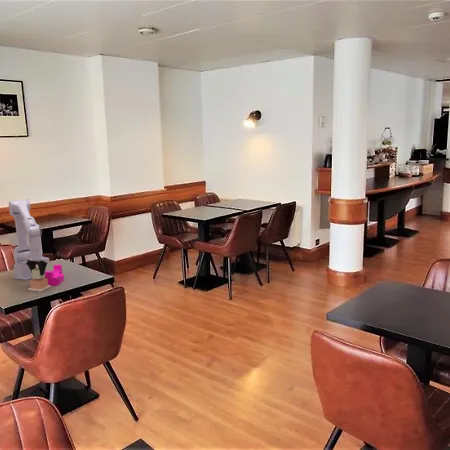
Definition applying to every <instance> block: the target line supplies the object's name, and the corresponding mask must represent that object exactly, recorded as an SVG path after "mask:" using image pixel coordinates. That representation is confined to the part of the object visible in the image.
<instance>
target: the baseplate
mask: <svg viewBox="0 0 450 450" xmlns="http://www.w3.org/2000/svg"><path fill="white" fill-rule="evenodd" d="M49 288H52V286H51V285H48V286H47V287H45V288H42V289H31V287H28V288H27V291H33V292H42V291H45V290H47V289H49Z"/></svg>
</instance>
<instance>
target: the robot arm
mask: <svg viewBox="0 0 450 450" xmlns="http://www.w3.org/2000/svg"><path fill="white" fill-rule="evenodd" d="M8 210H9V215H10V216H11V217H12V216H13V219H14V224H15V231H16V236H17V237H16V238H17V245H16V247H14V249H13V261H14V262H15V263H14V264H13V272H14V277H13V280H14V279H16V280H24V281H27V280H31V279H33V278H32V270H33V269H35V268H39V270H40V275H41V276H42V275H44V274H45V272H46V269H47V266H48V263H49V262H50V257H45V256H43V251H42V240H41V239H42V238H41V237H42V234H43V233H42V227H41V225H39V224H37V222H36V220H35V218H34V216H31V214H30V210H31V201H30V200H29V199H26V198H25V199H20V200H19V199H17V200H10V201H8Z"/></svg>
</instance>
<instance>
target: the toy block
mask: <svg viewBox="0 0 450 450" xmlns="http://www.w3.org/2000/svg"><path fill="white" fill-rule="evenodd" d="M52 267H53V269H52V270H45V277H44V278H47V279H48V285H51V287H55V286H56V287H57V286H59V285H60V284H61V283H63V282H64V280H65V276H64V275H65V274H64V273H63V268H62V267H63V266H62V264H54V265H53V266H52Z"/></svg>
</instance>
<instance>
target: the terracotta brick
mask: <svg viewBox="0 0 450 450" xmlns="http://www.w3.org/2000/svg"><path fill="white" fill-rule="evenodd" d="M29 285H30V286H29V288H31V289H42V288H45V287H47V286H48V279H47V278H45V277H43V278H41V279H34V278H33V279H32V280H31V279H30V280H29Z"/></svg>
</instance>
